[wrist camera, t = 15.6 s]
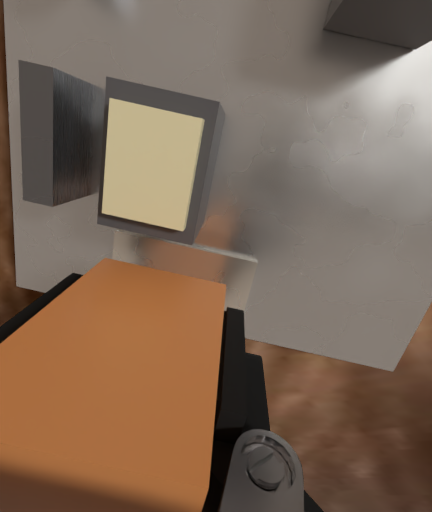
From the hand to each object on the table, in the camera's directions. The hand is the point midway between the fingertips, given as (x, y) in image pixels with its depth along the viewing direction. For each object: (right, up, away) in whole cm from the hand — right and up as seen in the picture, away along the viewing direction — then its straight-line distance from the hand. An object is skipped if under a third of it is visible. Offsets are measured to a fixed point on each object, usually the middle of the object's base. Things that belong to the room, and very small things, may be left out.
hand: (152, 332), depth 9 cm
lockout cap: (0, 0, +1) cm, 1 cm away
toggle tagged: (+1, +6, +2) cm, 6 cm away
